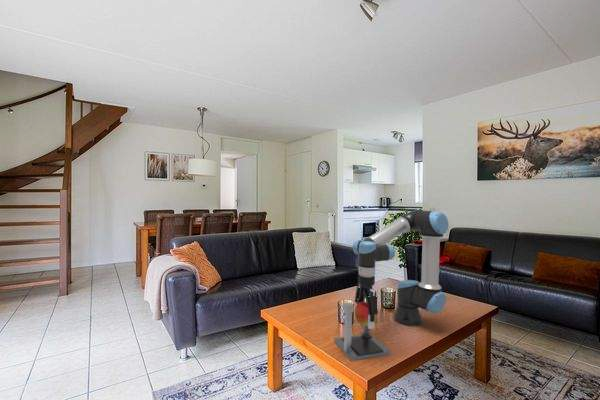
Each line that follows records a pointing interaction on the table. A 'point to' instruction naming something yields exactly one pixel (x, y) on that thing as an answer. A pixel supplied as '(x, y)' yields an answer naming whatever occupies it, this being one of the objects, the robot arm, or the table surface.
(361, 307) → the apple
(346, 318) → the stand
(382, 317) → the table surface
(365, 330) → the lever
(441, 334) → the table surface
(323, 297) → the table surface
